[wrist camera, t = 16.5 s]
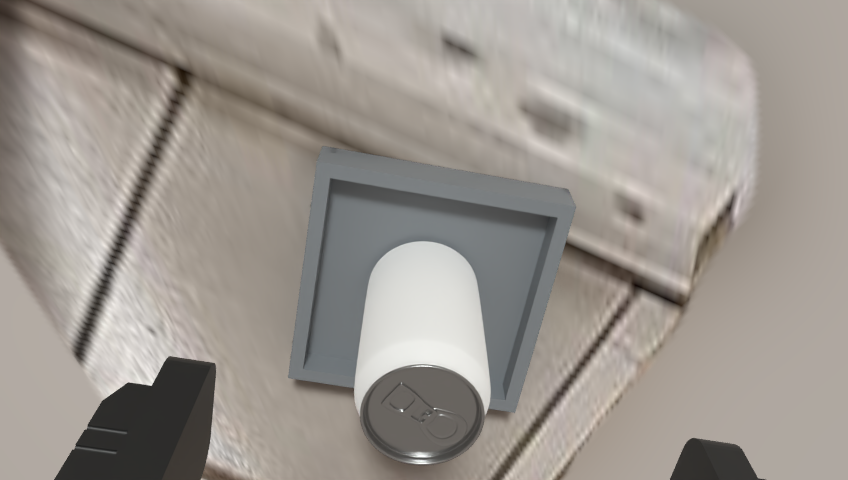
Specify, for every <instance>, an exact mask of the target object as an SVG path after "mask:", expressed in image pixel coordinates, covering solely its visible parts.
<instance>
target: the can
mask: <svg viewBox="0 0 848 480" xmlns="http://www.w3.org/2000/svg"><path fill="white" fill-rule="evenodd" d="M490 395H491V387H490V376H489V367H488V359H487V351H486V343H485V335H484V327H483V320H482V312H481V305H480V297H479V291H478V284H477V280H476V276H475V273H474V271H473V269H472V267H471V266H470V264H469V263H468V262H467V260H466V259H465V258H464V257H463V256H462V255H461V254H459V253H458V252H457V251H455V250H454V249H452V248H450V247H448V246H445V245H443V244H439V243H435V242H428V241H417V242H410V243H406V244H403V245H400V246H398V247H396V248H394V249H392V250H391V251H389V252H388V253H386V254H385V255H384V256H383V257H382V258H381V259H380V260H379V261H378V262H377V264H376V265H375V267H374V269H373V271H372V273H371V275H370V279H369V283H368V289H367V295H366V302H365V308H364V315H363V323H362V330H361V337H360V344H359V352H358V359H357V367H356V375H355V385H354V398H355V405H356V408H357V411H358V413H359V416H360V422H361V426H362V429H363V432H364V434H365V436H366V437H367V439H368V440H369V442H370V443H371V444H372V445H373V446H374V447H375V448H376V449H377V450H378V451H379V452H381V453H382V454H384V455H385V456H387V457H389V458H391V459H393V460H396V461H399V462H402V463H406V464H412V465H433V464H439V463H443V462H446V461H449V460H451V459H454V458H456V457H458V456H459V455H461V454H462V453H464V452H465V451H466V450H468V449H469V448H470V447H471V446H472V445H473V444H474V443H475V441H476V440H477V438H478V437H479V435H480V433H481V431H482V428H483V425H484V418H485V415H486V413H487V410H488V408H489V404H490Z"/></svg>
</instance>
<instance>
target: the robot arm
mask: <svg viewBox="0 0 848 480" xmlns="http://www.w3.org/2000/svg"><path fill="white" fill-rule="evenodd" d="M215 378H216V365H215V363H210V362H204V361H197V360H191V359H184V358H178V357H171V356H169V357H168V358H167V359H166V361H165V362H164V364H163V366H162V368H161V370H160V372H159V374H158V375H157V377H156V379H155V381H154V383H153V385H152V386H148V385H142V384H135V383H127V384H125V385H124V386H123V387H121V388H120V389H118V390H117V391H116V392H114V393H113V394H111V395H110V396H109V397H107V398H106V399H104V400H103V401H102V402H101V404H100V406H99V407H98V409H97V411H96V412H95V414H94V415H93V417H92V419H91V420H90V422H89V424H88V427H87V430H84V432H83V434H82V435H81V437H80V438H79V440H78V442H77V443H76V446H75V449H74V450H72V451H71V453H70V455H69V456H68V458H67V460H66V461H65V463H64V465H63V466H62V468H61V470H60V471H59V473H58V474H57V476H56V478H55V479H54V480H200V479H201V477H202V474H203V471H204V467H205V463H206V459H207V455H208V450H209V444H210V437H211V425H212V413H213V401H214V390H215ZM670 480H765V479H758V478H757V476H756V474H755V472H754V470H753V469H752V467H751V465H750V463H749V461H748V459H747V458H746V456H745V454H744V452H743V451H742V449H741V448H740V447H739V446H737V445H735V444H730V443H723V442H716V441H710V440H703V439H696V438H692V439H690V440H689V441H688V442H687V443H686V444H685V446H684V448H683V450H682V452H681V455H680V457H679V460H678V462H677V464H676V467H675V469H674V471H673V474H672V476H671V478H670Z"/></svg>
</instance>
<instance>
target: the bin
mask: <svg viewBox="0 0 848 480" xmlns="http://www.w3.org/2000/svg"><path fill="white" fill-rule="evenodd" d="M575 209H576V205H575V203H574V201H573V199H572V196H571V194H570V192H569V190H568V189H563V188H557V187H552V186H546V185H541V184H535V183H529V182H524V181H518V180H512V179H507V178H501V177H495V176H490V175H484V174H478V173H473V172H467V171H461V170H456V169H450V168H445V167H439V166H433V165H428V164H422V163H416V162H411V161H405V160H399V159H394V158H388V157H382V156H377V155H371V154H365V153H360V152H354V151H349V150H343V149H337V148H332V147H326V146H323V147H322V149H321V152H320V155H319V157H318V160H317V165H316V172H315V180H314V187H313V195H312V202H311V210H310V217H309V225H308V232H307V240H306V247H305V255H304V262H303V270H302V277H301V285H300V292H299V300H298V307H297V315H296V322H295V330H294V337H293V345H292V352H291V360H290V367H289V375H288V378H291V379H298V380H304V381H311V382H317V383H324V384H330V385H337V386H344V387H350V388H354V385H355V375H356V367H357V359H358V352H359V344H360V337H361V330H362V323H363V315H364V308H365V302H366V295H367V289H368V283H369V279H370V275H371V273H372V271H373V269H374V267H375V265H376V264H377V262H378V261H379V260H380V259H381V258H382V257H383V256H384V255H385V254H386V253H388V252H389V251H391V250H392V249H394V248H396V247H398V246H400V245H403V244H406V243H410V242H417V241H428V242H435V243H439V244H443V245H445V246H448V247H450V248H452V249H454V250H455V251H457V252H458V253H459V254H461V255H462V256H463V257H464V258H465V259H466V260H467V262H468V263H469V264H470V266H471V267H472V269H473V271H474V273H475V276H476V280H477V284H478V291H479V297H480V305H481V312H482V320H483V327H484V335H485V343H486V351H487V359H488V367H489V376H490V387H491V395H490V404H489V408H488V409H494V410H501V411H507V412H514V413H515V411H516V408H517V404H518V401H519V397H520V394H521V391H522V387H523V384H524V381H525V377H526V374H527V371H528V367H529V364H530V360H531V357H532V354H533V350H534V347H535V344H536V340H537V337H538V334H539V330H540V327H541V323H542V320H543V317H544V313H545V310H546V307H547V303H548V300H549V297H550V293H551V290H552V286H553V283H554V280H555V276H556V273H557V270H558V266H559V263H560V260H561V256H562V253H563V249H564V246H565V243H566V239H567V236H568V233H569V229H570V226H571V223H572V219H573V216H574V212H575Z"/></svg>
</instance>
